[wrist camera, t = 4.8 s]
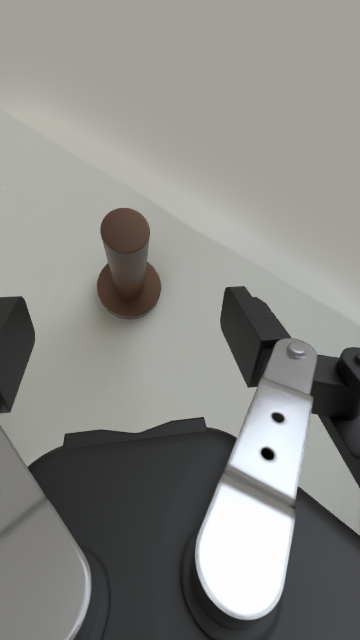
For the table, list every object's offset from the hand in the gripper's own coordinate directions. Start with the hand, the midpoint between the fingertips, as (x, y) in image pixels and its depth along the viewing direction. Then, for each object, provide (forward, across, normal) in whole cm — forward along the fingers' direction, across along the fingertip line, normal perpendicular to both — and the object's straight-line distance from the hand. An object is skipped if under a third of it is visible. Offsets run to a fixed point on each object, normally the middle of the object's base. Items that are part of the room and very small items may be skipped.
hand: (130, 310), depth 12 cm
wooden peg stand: (+10, 0, +5) cm, 12 cm away
